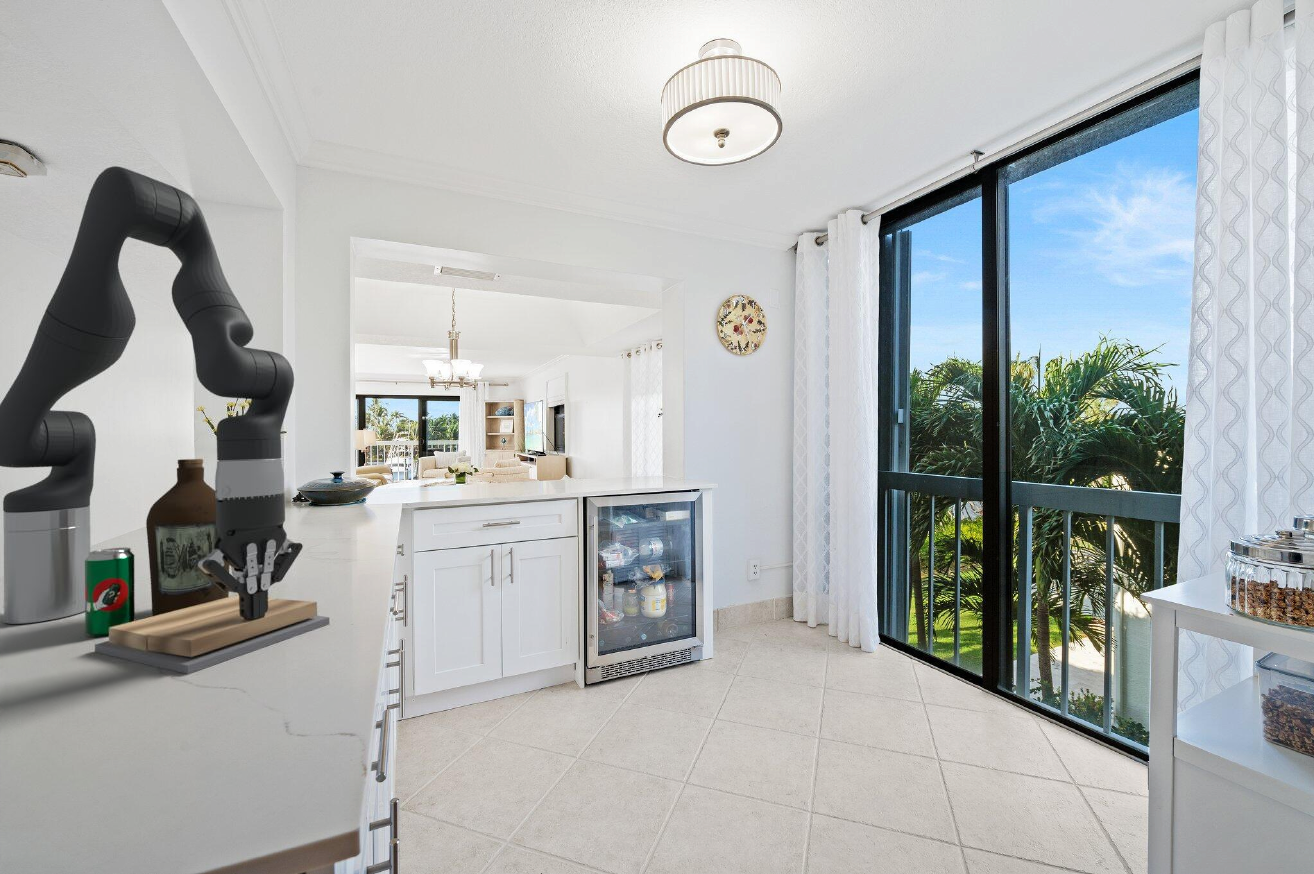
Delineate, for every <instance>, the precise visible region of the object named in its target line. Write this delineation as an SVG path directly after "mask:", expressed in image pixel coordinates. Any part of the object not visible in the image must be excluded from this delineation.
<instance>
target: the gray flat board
mask: <svg viewBox="0 0 1314 874" xmlns="http://www.w3.org/2000/svg"><path fill="white" fill-rule="evenodd" d="M328 625H330V617H329V616H321V615H317V616H314V617H311V618H308V619H305V620H302V621H299V622H296V623H293V624H290V625H287V626H283V627H280V628H277V629H274V630H271V631H268V632H265V633H262V634H259V635H256V636H253V637H250V638H247V639H244V640H241V641H238V642H235V643H232V644H229V645H226V646H223V647H220V648H217V649H214V650H211V651H208V652H205V653H202V654H199V655H196V656H193V657H189V656H182V655H175V654H169V653H162V652H155V651H148V650H147V651H145V650H140V649H136V648H131V647H127V646H122V645H118V644H113V643H109V640H107V641H103V642H98V643H95V644H94V652H95V653H98V654H101V655H106V656H111V657H114V658H118V659H119V658H120V659H122V660H128V661H132V662H135V663H140V664H145V665H148V666H153V667H156V668H161V669H165V670H169V671H174V672H178V673H183V674H186V675H189V674H192V673H195V672H199V671H200V670H204V669H206V668H210V667H212V666H215V665H218V664H221V663H223V662H226V661H230V660H232V659H234V658H237V657H240V656H244V655H245V654H249V653H251V652H255V651H257V650H259V649H263V648H265V647H268V646H271V645H274V644H276V643H280V642H282V641H285V640H288V639H291V638H293V637H296V636H299V635H302V634H305V633H307V632H311V631H313V630H316V629H318V628H322V627H325V626H328Z"/></svg>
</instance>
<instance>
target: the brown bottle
mask: <svg viewBox="0 0 1314 874" xmlns="http://www.w3.org/2000/svg"><path fill="white" fill-rule="evenodd" d="M203 464H204V459H203V458H187V459H184V458H181V459H178V460H177V466H178V467H176V479H177V480H176V483H175V484H174V485H172V487H171V488H170V489H168V490H167V491H166V492H165V493H164V494H163V495H161V496H160V498H158V499H157V500H156V501H155V502H154V503H153V504H152V505H151V507H150V508H149V511H148V514H147V517H146V523H145V525H146V527H145V528H146V537H147V538H146V539H147V547H148V548H147V549H148V550H147V551H148V563H149V564H148V565H149V576H150V577H149V578H150V590H151V594H150V595H151V613H152V614H151V615H152V616H151V617H153V616H157V615H161V614H165V613H168V612H172V611H176V610H180V609H184V608H188V607H192V606H196V605H200V604H204V603H208V602H212V601H215V600H219V599H223V598H227V597H230V596H229V594H230V593H229V592H225V591H222V590H221V589H220V588H219V587H218V586H216V585H215V584H214V583H213V582H212V581H211V580H210V579H208V578H207V577H206V576H205V575H204V574H203V573H202V572H200V571H199V570H198V569H197V568H196V567H195V565H194V564H195V562H196V561H197V560H198V559H204V558H205V557H207V556H208V555H209V554H210V553H211V552H212V551H213V550H215V549H214V543H215V541H216V540H217V537H218V531H217V528H216V499H215V488H212V487H211V486H210V485H209V484H207V483H206V482H205V467H204V466H203ZM222 559H223V558H222ZM223 561H224V563H225V565H224V566H223V568H224V569H226V570H227V571H228V572H229V573H230V567H231V566H230V565H229V564H228V563H227V562H226V561H225V560H224V559H223Z"/></svg>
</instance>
